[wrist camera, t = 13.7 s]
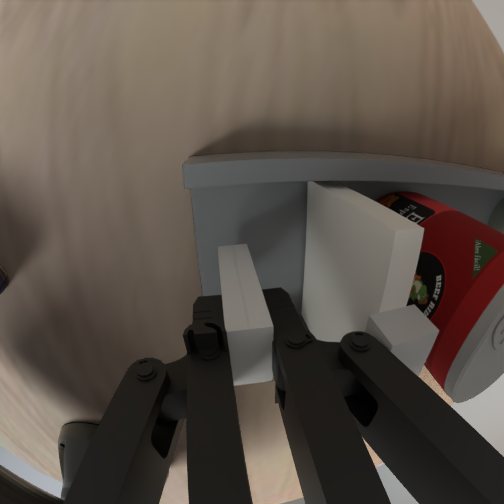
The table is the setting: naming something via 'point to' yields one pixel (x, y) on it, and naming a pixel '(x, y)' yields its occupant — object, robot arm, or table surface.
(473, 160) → the table surface
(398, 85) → the table surface
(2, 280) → the flask
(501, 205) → the green jar
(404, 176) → the lane
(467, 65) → the table surface
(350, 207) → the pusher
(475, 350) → the canned food
